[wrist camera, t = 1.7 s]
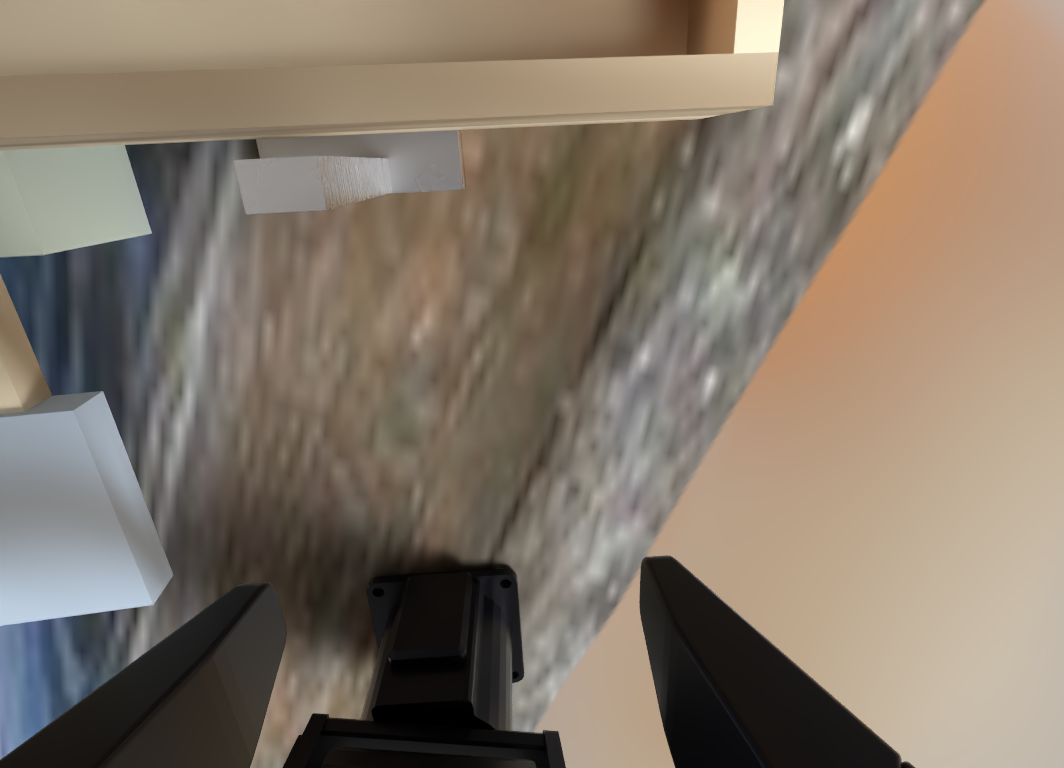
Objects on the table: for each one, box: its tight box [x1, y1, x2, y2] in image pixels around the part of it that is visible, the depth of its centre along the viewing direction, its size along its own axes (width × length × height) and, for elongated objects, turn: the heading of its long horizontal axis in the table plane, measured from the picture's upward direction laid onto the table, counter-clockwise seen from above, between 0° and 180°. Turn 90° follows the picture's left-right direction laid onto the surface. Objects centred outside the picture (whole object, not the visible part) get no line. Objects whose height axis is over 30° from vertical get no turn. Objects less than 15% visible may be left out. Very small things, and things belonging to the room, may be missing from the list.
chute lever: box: [0, 0, 784, 626], centre depth 12 cm, size 17×19×6 cm
